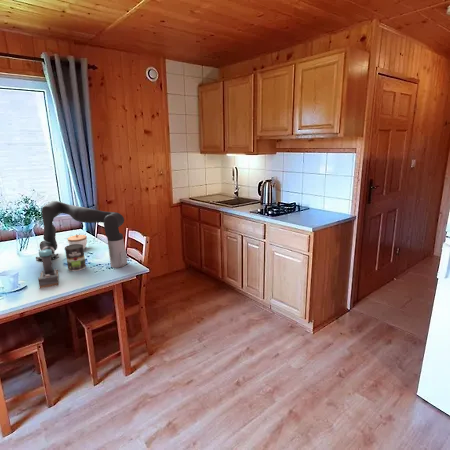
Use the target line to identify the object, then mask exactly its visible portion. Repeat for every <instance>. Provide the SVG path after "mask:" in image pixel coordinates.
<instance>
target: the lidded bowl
mask: <svg viewBox="0 0 450 450" xmlns="http://www.w3.org/2000/svg"><path fill="white" fill-rule="evenodd" d="M87 238H88V237H87V235H86V234H75V235H72V236H69V237H68V238H67V242H68V243H67V244H68V246H69V245H73V244H82V245H83V249H85V248H86V247H87V243H88V239H87Z"/></svg>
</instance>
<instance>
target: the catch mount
mask: <svg viewBox="0 0 450 450" xmlns="http://www.w3.org/2000/svg"><path fill="white" fill-rule="evenodd" d="M53 270H54V275H50V274H47V275H45V276H44V269H43V270H41V272H40V276H39V277H38V285H39V289H44V288H49V287H55V285H56V286H59V270H58V269H57V268H54V269H53Z"/></svg>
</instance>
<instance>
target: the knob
mask: <svg viewBox="0 0 450 450" xmlns="http://www.w3.org/2000/svg"><path fill="white" fill-rule="evenodd" d="M50 255H52V250H50V249H46V250H42V251H41V250H39V251H38V257H42V261H43V262H42V266H43V270H44V276H45V275H47V274H50V275H54V270H55V269H53V263H52V262H53V261H51V256H50Z"/></svg>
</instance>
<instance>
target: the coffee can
mask: <svg viewBox="0 0 450 450" xmlns="http://www.w3.org/2000/svg"><path fill="white" fill-rule="evenodd" d="M84 249H85V248H84ZM84 249H83V245H82V244H73V245H69V244H68V245H67V246H65V247H64V251H65V257H66V263H67V270H68V271H69V272H77V271H82V270H84V269H86V267H87V264H86V257H85V250H84Z"/></svg>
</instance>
